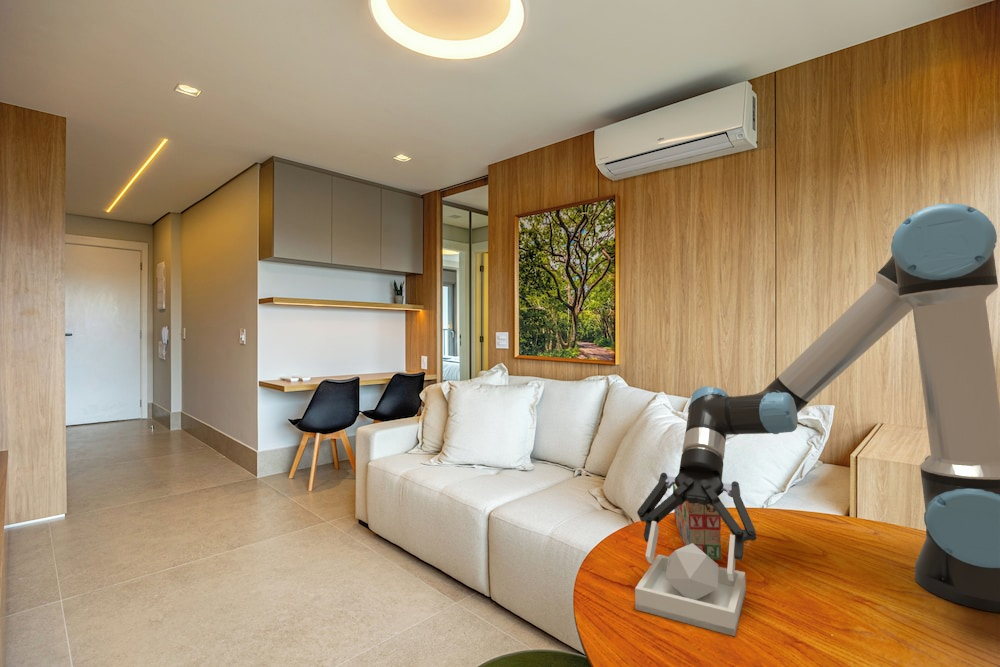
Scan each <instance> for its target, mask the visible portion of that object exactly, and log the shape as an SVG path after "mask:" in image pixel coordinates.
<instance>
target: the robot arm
mask: <svg viewBox="0 0 1000 667" xmlns="http://www.w3.org/2000/svg"><path fill="white" fill-rule="evenodd" d="M893 234H894V235H893V236H892V239H891V243H890V247H891V248H890V252H891V257H890V258H889V259H888V260H887V262H886V263H885V264H884V265H883V266H882V267H881V268H880V270H879V271H877V272H876V273H875V283H873V285H871V286H870V287H869V288H868V289H867V290H866V291H865V292H864V293H863V294H862V295H861V296H860V297H859V298H858V299H857V300H856V301H855V302H854V303H852V305H850V306H849V308H847V310H845V311H844V313H842V314H841V315H840V316H839V317H838V318H837V319H836V320H835V321H834V322H833V323H832V324H831V325H830V326H829V327H828V328H827V329H826V330H825V331H823V333H822V334H820V335H819V337H817V339H815V340H814V341H813V342H812V343H811V344H810V345H809V346H808V347H807V348H806V349H805V350H804V351H803V352H802V353H801V354H800V355H799V356H798V357H797V358H795V360H794V361H793V362H791V364H790V365H789V366H787V368H785V369H784V370H783V371H782V372H781V373H780V374H779V375H778V376H777V377H776V378H774V380H773V381H771V383H770V384H769V385H768V386H767V387H765V388H764V389H763V390H762V391H760V392H757V393H754V394H753V393H752V394H746V395H745V394H744V395H737V396H736V395H735V396H729V395H728V393H727V392H726V391H725V390H724V389H722V388H720V387H712V386H710V385H709V386H708V385H707V386H701V387H699V388H696V390H694V391H693V393H692V394H691V398H690V402H689V406H688V408H687V409H688V410H687V412H688V413H687V419H686V421H687V422H686V427H685V433H684V439H683V443H682V444H683V445H682V450H681V451H682V453H681V457H680V463H679V468H678V474H677V475H676V476H675V477H674V476H670V475H668V474H667V473H666V472H661V474H660V475H659V480H658V482H657V484H656V485H655V486H654V488H653V489H652V491H650V493H649V494H648V496H647V497H646V498H645V500H644V502H643V503H642V504H641V506H640V507H639V508H638V509H637V511H636V513H637V516H638V518H639V520H640V521H641V522H644V523H645V527H644V531H643V539H644V540H645V542H647V544H646V545H647V546H646V550H645V558H646V560H647V562H648V564H653V561H654V560H655V556H656V555H655V554H656V549H657V544H658V543H657V542H658V537H659V531H660V527H659V525H658V524H659V523H660V522H661V521H662V520H663V519H665V518H666V517H667V516H669V515H670V513H672V512H673V511H674V509H675V508H676V507H677V506H679V505H682V504H683V503H684V502H685V501H688V502H689V503H699V504H701V505H707V504H710V503H711V505H712V506H713V508H714V509H715V510H716V511H717V512H718V514H719V515H720V517H721V520H722V521H723V523H724V524H725V525H726V527H727V528H728V530H729V531H730V532H731V534H729V544H728V556H727V567H726V568H727V575H728V579H729V580H730V581H734V574H735V570H736V560H738V561H743V558H744V550H745V548H744V545H745V542H747V541H752V542H754V541H756V540H757V532H756V529H755V527H754V524H753V522H752V519H751V518H750V515H749V513H748V511H747V508H746V505H745V504H744V501H743V499H742V497H741V487H740V483H739V482H738V481H736V480H735V481H732V482H731V483H724V482H723V472H724V471H723V470H724V459H725V453H726V452H725V450H726V448H725V447H726V440H727V435H728V436H729V435H754V434H755V435H756V434H757V435H759V434H760V435H761V434H762V435H763V434H773V435H779V434H782V433H786V434H787V433H792V432H795V431H796V430H797V429H798V423H799V422H798V421H799V420H798V417H799V416H798V413H799V412H800V411H802V410H803V409H804V408H805V407H806V406H807V405H808V404H809V403H810V402H811V401H812V400H813V399H814V398H816V397H817V396H818V395H819V394H820V393H821V392H822V391H823V390H824V389H826V388H827V386H829V385H830V384H831V383H832V382H834V381H835V379H837V378H838V377H839V376H840V375H841V374H843V372H844V371H846V370H847V369H848V368H849V367H850V366H852V364H853V363H855V362H856V361H857V360H858V359H859V358H860V357H861V356H862V355H864V354H865V353H866V352H867V351H868V350H869V349H870V348H871V347H872V346H874V345H875V344H876V343H877V342H878V341H879V340H880V339H881V338H883V337H884V336H885V335H886V334H887V333H888V332H889V331H890V330H891V329H893V327H895V326H896V325H898V323H899V322H900V321H902V320H903V319H904V318H905V317H906V316H907V315H908V314H909V313H910V312H911V311H912V312H913V322H914V323H913V324H914V331H915V338H916V344H917V347H916V348H917V353H918V354H917V355H918V361H919V362H918V364H919V370H920V378H921V387H922V393H923V401H924V411H925V418H926V427H927V433H928V443H929V452H930V454H929V455H928V456H926V457H925V458H924V461H923V462H921V464H919V469H920V476H921V478H920V479H921V486H922V487H921V488H922V494H923V501H924V502H923V503H924V509H925V510H924V514H923V520H924V525H925V531H926V532H925V533H926V535H925V536H926V537H925V540H924V543H923V544H922V547H921V549H920V552H919V555H918V557H917V560H916V561H915V563H914V564H915V565H914V578H915V581H916V583H918V585H919V586H920V587H922V588H923V589H925V591H928V592H930V593H931V594H933V595H936V596H937V597H940V598H942V599H945V600H947V601H950V602H953V603H955V604H958V605H962V606H965V607H969V608H973V609H976V610H982V611H987V612H992V613H998V614H999V613H1000V398H999V397H1000V396H999V391H998V390H999V389H998V383H997V376H996V375H997V374H996V367H995V361H994V360H995V359H994V354H993V346H992V338H991V330H990V323H989V322H990V321H989V317H988V316H989V315H988V309H987V308H988V306H987V299H988V297H990V296H991V295H992V293H993V292H995V291H996V290H997V289H998V288H999V282H998V276H997V275H998V274H997V267H996V258H995V252H994V250H995V249H996V244H997V241H998V240H997V239H998V236H997V231H996V228H995V225H994V223H993V222H992V221H991V220H990V218H989V217H988V216H987V215H986V214H984V213H983V212H982V211H980V210H979V209H977V208H975V207H972V206H970V205H966V204H961V203H956V202H955V203H953V202H952V203H951V202H949V203H947V202H946V203H938V204H933V205H929V206H927V207H923V208H921V209H919V210H917V211H916V212H913V213H912V214H911V215H909V216H908V217H906V218H905V219H904V221H903V222H902V223H901V224H899V226H898V227H897V229H896V230H895V231H894V233H893ZM674 484H676V486H677V489H675V490H674V491H673V490H672V493H671V494H670V495H669V496H668V497H667V498H665V499H664V500H663V501H662V502H661V500H662V498H663V497H664V496H665V495H666V493H667V492H668V490H671V488H672V487H673V485H674ZM724 492H726V493H727V495H728V497H729V498H732V500H733V503H734V506H735V509H736V511H737V513H738V516H739V518H740V520H741V522H742V526H743V528H744V529H743V528H741V527H740V526H739V524H738V522H736V520H735V518H734V517H733V516H732V514H731V513H730V511H729V510H728V508H727V507H726V506H725V505H724V503H723V502H722V501H721V499H720V497H719V496H720V495H721V494H723V493H724ZM660 502H661V503H660ZM659 503H660V504H659Z"/></svg>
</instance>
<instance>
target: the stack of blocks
mask: <svg viewBox="0 0 1000 667" xmlns="http://www.w3.org/2000/svg"><path fill="white" fill-rule="evenodd" d="M675 489H677V486H676V484H674V485H672V492H673V491H674V490H675ZM673 511H674V513H673V514H674V517H673V518H674V522H675V525H676V527H677V530H678V532H679V535H680V536H681V539H682V542H683V544H684V546H687V545H689V544H691V543H693V544H694V545H696V546H697V547H698V548H699V549H700V550H701V551H703V552H704V553H705V554H706V555H707V556H708V557H710V558H711V559H712V560H717V561H718V560H722V544H721V542H722V541H721V539H722V538H721V535H722V534H721V529H722V524H721V521H722V518H721V517H720V515H719V514H718V512H717V511H716V510H715V509H714V508H713V506H712V505H711V503H710V504H707V505H701V504H699V503H689V502H688V501H685V502H684V503H683V504H682V505H679V506H677V507H676V508H675V509H674V510H673Z"/></svg>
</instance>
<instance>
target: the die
mask: <svg viewBox="0 0 1000 667" xmlns="http://www.w3.org/2000/svg"><path fill="white" fill-rule="evenodd" d="M718 567H719V564H718V563H717V562H715V560H714V559H711V558H710V557H708V556H707V555H706V554H705V553H704V552H703V551H701V550H700V549H699V548H698V547H697V546H696V545H694V544H693V543H691V544H689V545H687V546H685V545H684V546H682V547H680V548H678V549H675V550H674V551H673V552H671V554H670V555H669V556H668V563H667V570H666V577H665V579H666V580H667V581H668V582H669V583H670V584H671V585H673V586H674V587H675V588H676V589H677V590H678V591H679V592H680V593H681V594H682V595H683V596H684V597H686V598H689V599H693V600H697V599H699V598H701V597H703V596H705V595H707V594H709V593H710V592H712V591H714V590H716V589H717V588H718Z"/></svg>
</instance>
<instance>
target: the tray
mask: <svg viewBox="0 0 1000 667" xmlns="http://www.w3.org/2000/svg"><path fill="white" fill-rule="evenodd" d="M668 557H669V556H668V555H663V554H657V556H656V557H654V561H653V564H652V563H650V566H649V567H648V569H647V570H646V572H645V573H644V575H643V576H642V578H641V579H640V580H639V581H638V583H637V585H636V586H635V588H634V592H635V593H634V597H635V599H634V600H635V606H634V607H635V610H636V611H639V612H643V613H646V614H651V615H653V616H654V615H655V616H659V617H661V618H666V619H670V620H672V621H676V622H680V623H683V624H688V625H691V626H695V627H698V628H703V629H707V630H709V631H713V632H718V633H721V634H724V635H729V636H733V637H736V633H737V630H738V626H739V625H738V624H739V621H740V617H741V612H742V608H743V605H744V601H745V596H746V572H745V571H740V570H736V569H735V574H734V581H730V580H729V579H728V575H727V567H722V566H718V588H717V589H716V590H714V591H712V592H710V593H709V594H707V595H705V596H703V597H701V598H699V599H697V600H693V599H689V598H686V597H684V596H683V595H682V594H681V593H680V592H679V591H678V590H677V589H676V588H675V587H674V586H673V585H671V584H670V583H669V582H668V581H667V580H666V579H665V577H666V570H667V563H668Z"/></svg>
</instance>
